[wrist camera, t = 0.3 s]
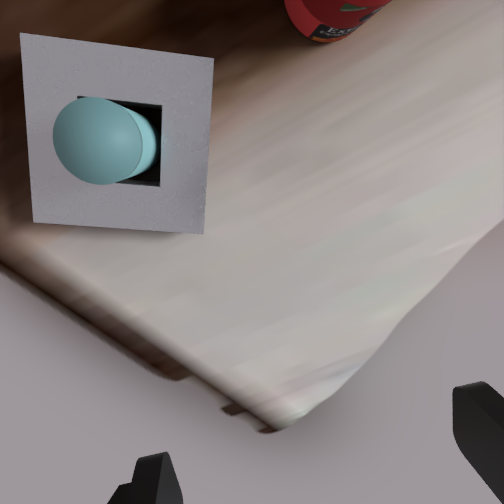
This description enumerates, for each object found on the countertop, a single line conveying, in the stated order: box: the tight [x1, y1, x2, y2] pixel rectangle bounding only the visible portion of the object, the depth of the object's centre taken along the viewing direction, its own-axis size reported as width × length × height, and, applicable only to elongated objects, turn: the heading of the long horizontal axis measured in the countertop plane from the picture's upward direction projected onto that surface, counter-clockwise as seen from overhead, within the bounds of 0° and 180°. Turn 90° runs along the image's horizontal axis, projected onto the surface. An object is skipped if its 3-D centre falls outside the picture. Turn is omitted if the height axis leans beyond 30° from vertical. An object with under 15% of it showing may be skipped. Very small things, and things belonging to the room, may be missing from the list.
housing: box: [20, 33, 214, 234], centre depth 30 cm, size 14×14×4 cm
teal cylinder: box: [53, 97, 161, 185], centre depth 28 cm, size 5×5×10 cm
